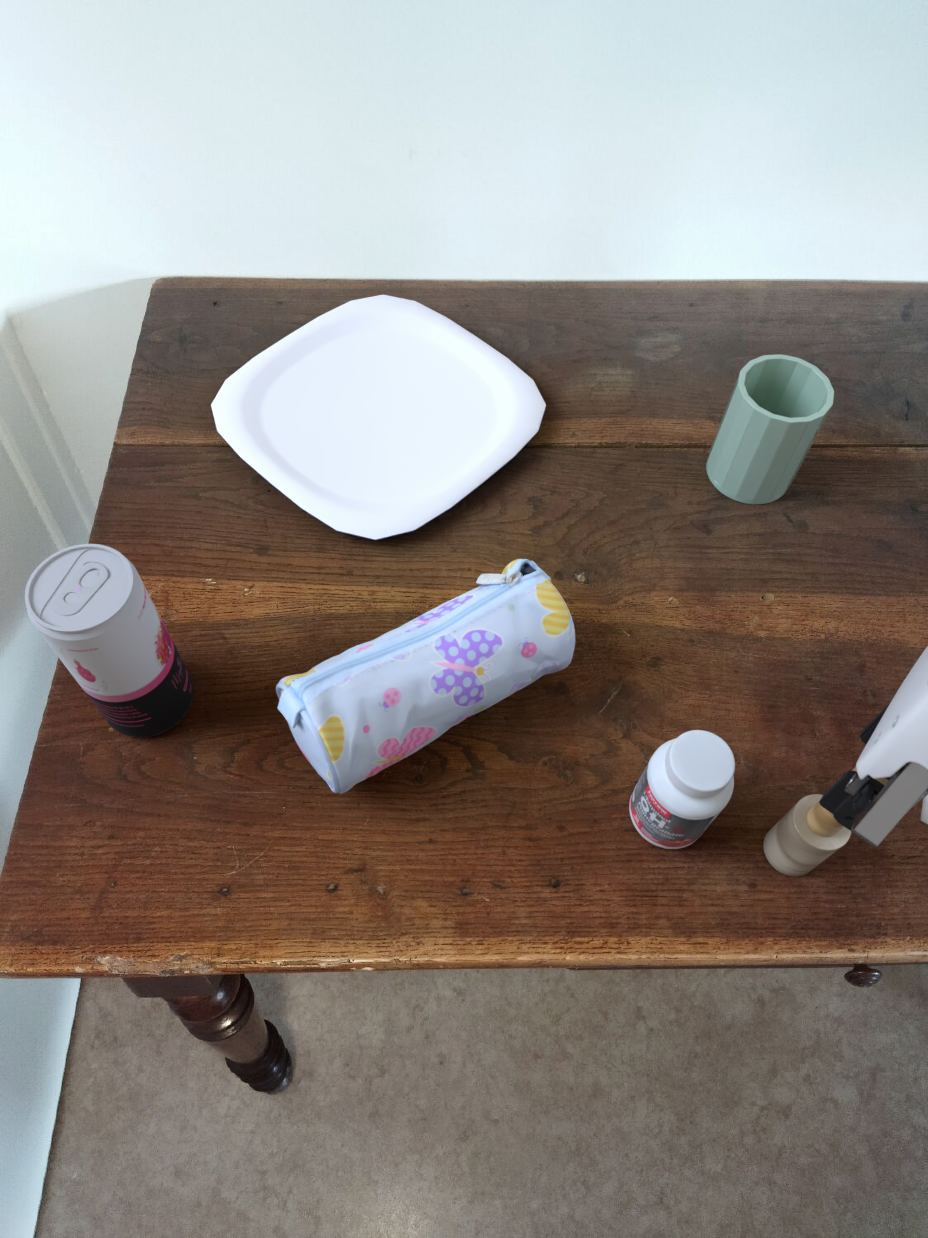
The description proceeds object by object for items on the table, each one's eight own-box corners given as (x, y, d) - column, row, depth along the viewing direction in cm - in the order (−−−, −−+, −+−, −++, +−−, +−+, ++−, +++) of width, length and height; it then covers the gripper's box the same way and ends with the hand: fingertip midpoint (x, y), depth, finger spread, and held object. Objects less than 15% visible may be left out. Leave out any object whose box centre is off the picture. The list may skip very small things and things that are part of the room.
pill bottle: (617, 831, 61) (645, 779, 52) (641, 764, 63) (673, 704, 55) (693, 864, 59) (734, 816, 51) (714, 795, 62) (758, 738, 54)
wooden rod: (825, 846, 60) (958, 739, 45) (801, 888, 59) (929, 792, 43) (778, 814, 61) (892, 699, 46) (753, 853, 60) (862, 748, 45)
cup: (805, 467, 78) (850, 383, 70) (764, 518, 75) (806, 436, 67) (732, 427, 81) (767, 341, 72) (690, 475, 77) (721, 390, 69)
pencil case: (513, 596, 70) (523, 523, 62) (579, 678, 67) (599, 612, 59) (276, 725, 64) (253, 662, 56) (334, 824, 60) (318, 772, 52)
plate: (576, 416, 81) (579, 402, 79) (375, 580, 71) (374, 568, 69) (384, 286, 89) (383, 272, 88) (181, 416, 79) (176, 402, 78)
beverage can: (213, 682, 66) (159, 567, 53) (158, 755, 63) (87, 651, 50) (142, 646, 67) (72, 525, 54) (85, 715, 64) (-3, 605, 51)
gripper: (1087, 838, 29) (861, 950, 45) (1223, 526, 36) (987, 716, 52) (877, 706, 32) (732, 856, 47) (1044, 438, 39) (869, 645, 54)
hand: (867, 782), depth 49 cm, fingers open, 4 cm apart
